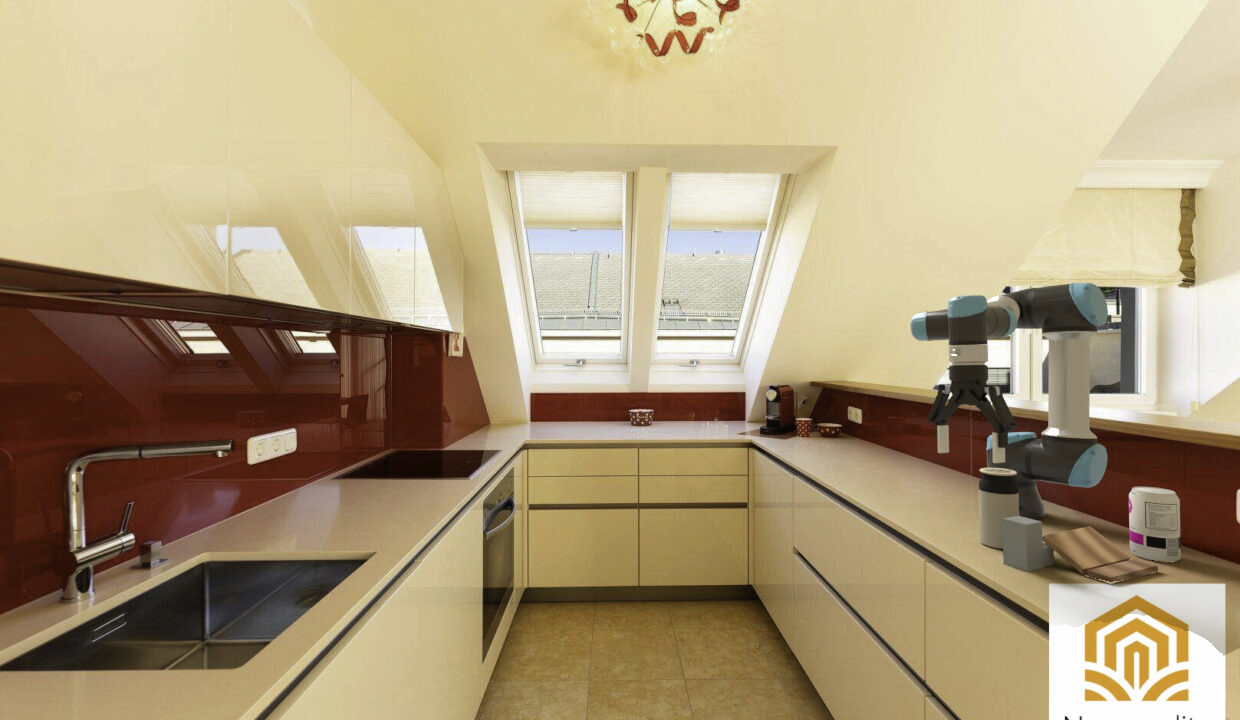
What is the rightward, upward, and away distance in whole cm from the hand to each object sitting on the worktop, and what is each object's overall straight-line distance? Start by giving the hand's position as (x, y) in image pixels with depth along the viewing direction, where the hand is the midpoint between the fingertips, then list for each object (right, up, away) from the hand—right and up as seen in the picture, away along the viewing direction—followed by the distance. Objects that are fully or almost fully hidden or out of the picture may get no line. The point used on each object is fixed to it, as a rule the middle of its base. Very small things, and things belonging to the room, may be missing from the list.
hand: (969, 457), depth 124 cm
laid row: (+25, -22, -11) cm, 35 cm away
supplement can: (+41, -22, -1) cm, 46 cm away
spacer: (+11, -23, -4) cm, 25 cm away
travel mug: (+13, -23, +8) cm, 27 cm away
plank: (+22, -20, -4) cm, 30 cm away
